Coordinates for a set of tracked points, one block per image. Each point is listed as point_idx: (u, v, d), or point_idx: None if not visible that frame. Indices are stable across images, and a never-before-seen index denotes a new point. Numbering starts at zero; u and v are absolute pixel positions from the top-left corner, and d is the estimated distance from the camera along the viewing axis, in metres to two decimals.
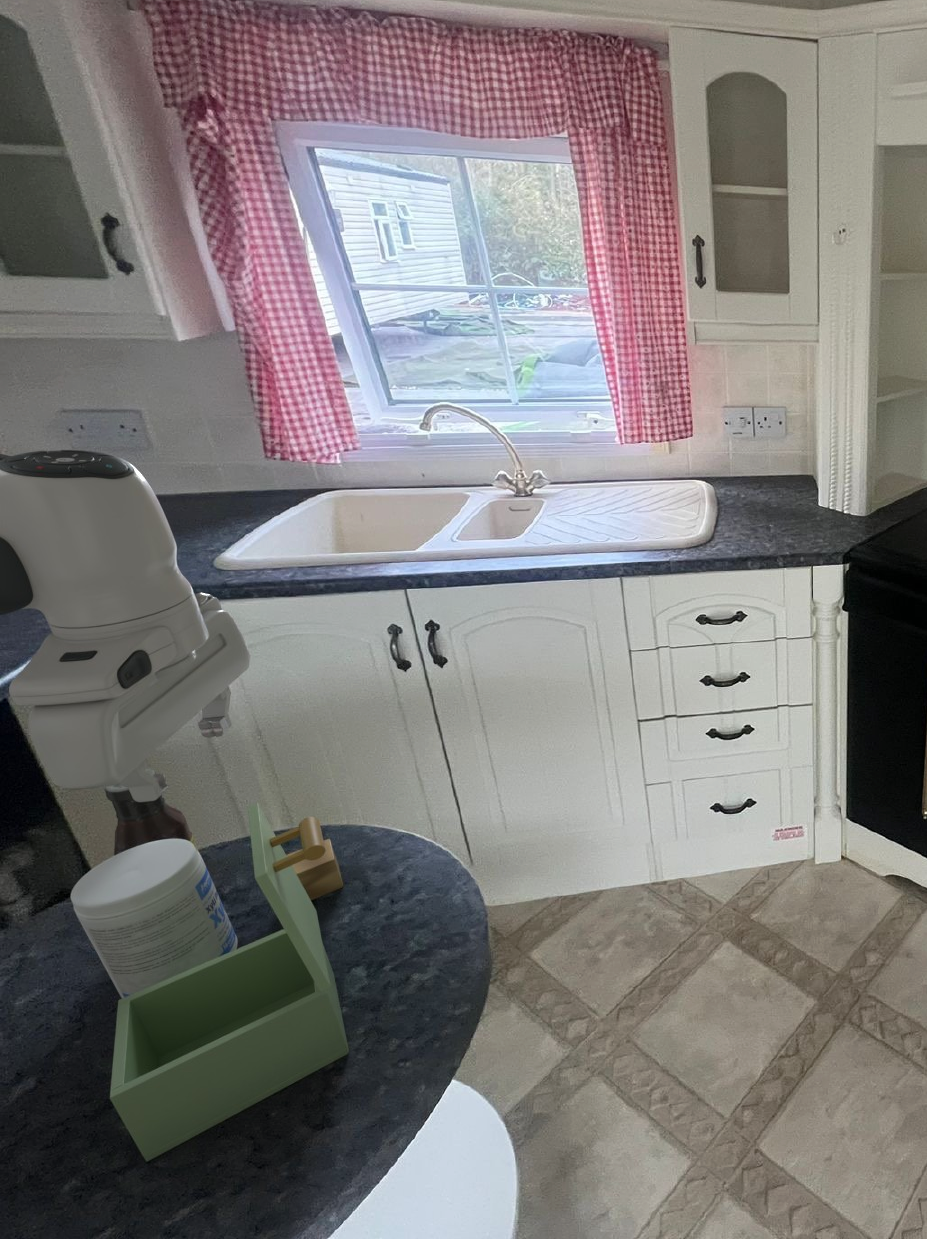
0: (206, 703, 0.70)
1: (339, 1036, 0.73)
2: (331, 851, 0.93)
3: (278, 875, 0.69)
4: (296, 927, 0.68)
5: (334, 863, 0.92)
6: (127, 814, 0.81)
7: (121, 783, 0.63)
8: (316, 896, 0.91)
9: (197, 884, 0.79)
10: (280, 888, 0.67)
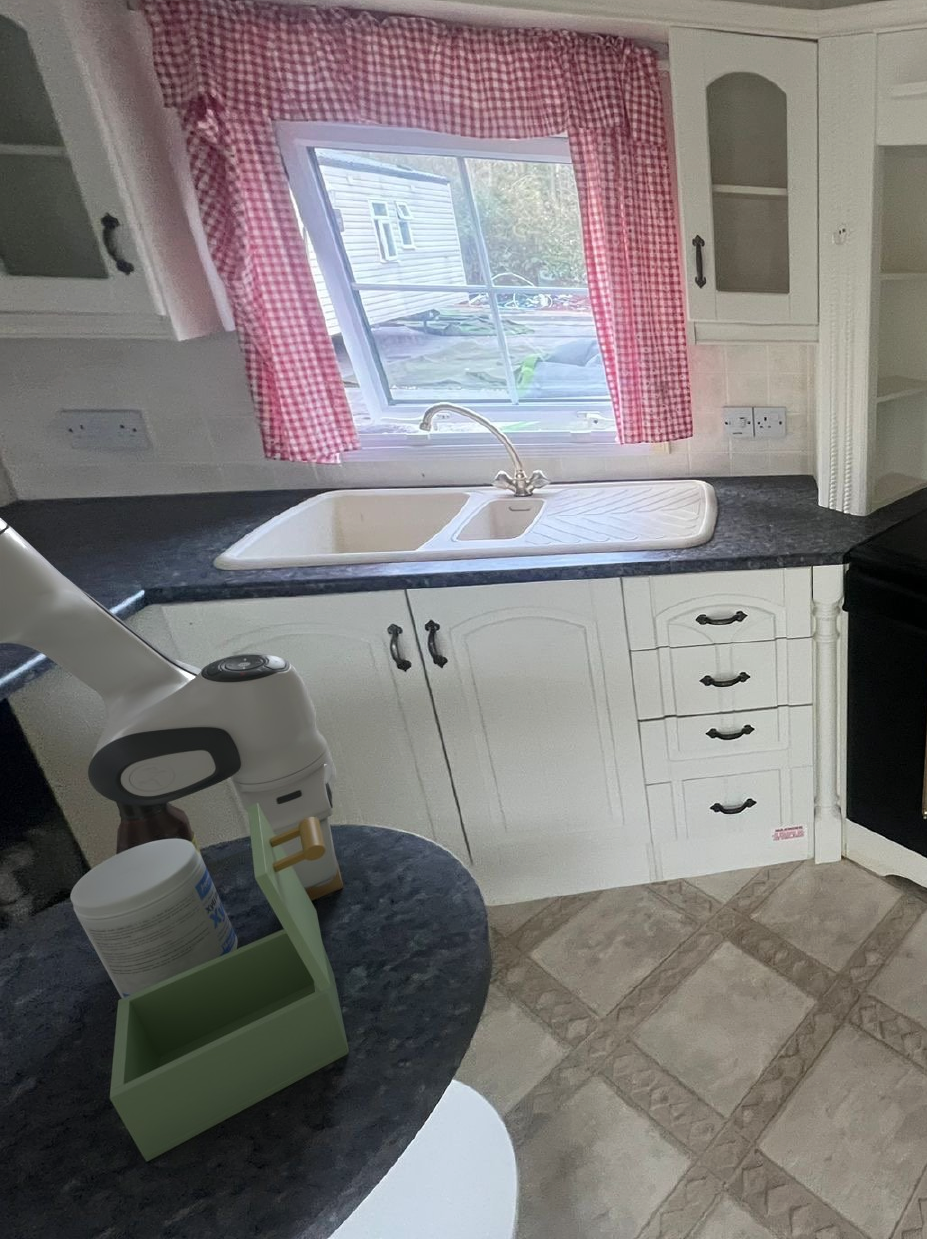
0: None
1: (339, 1036, 0.73)
2: None
3: (278, 875, 0.69)
4: (296, 927, 0.68)
5: None
6: (131, 813, 0.81)
7: None
8: (316, 897, 0.91)
9: (197, 884, 0.79)
10: (280, 888, 0.67)
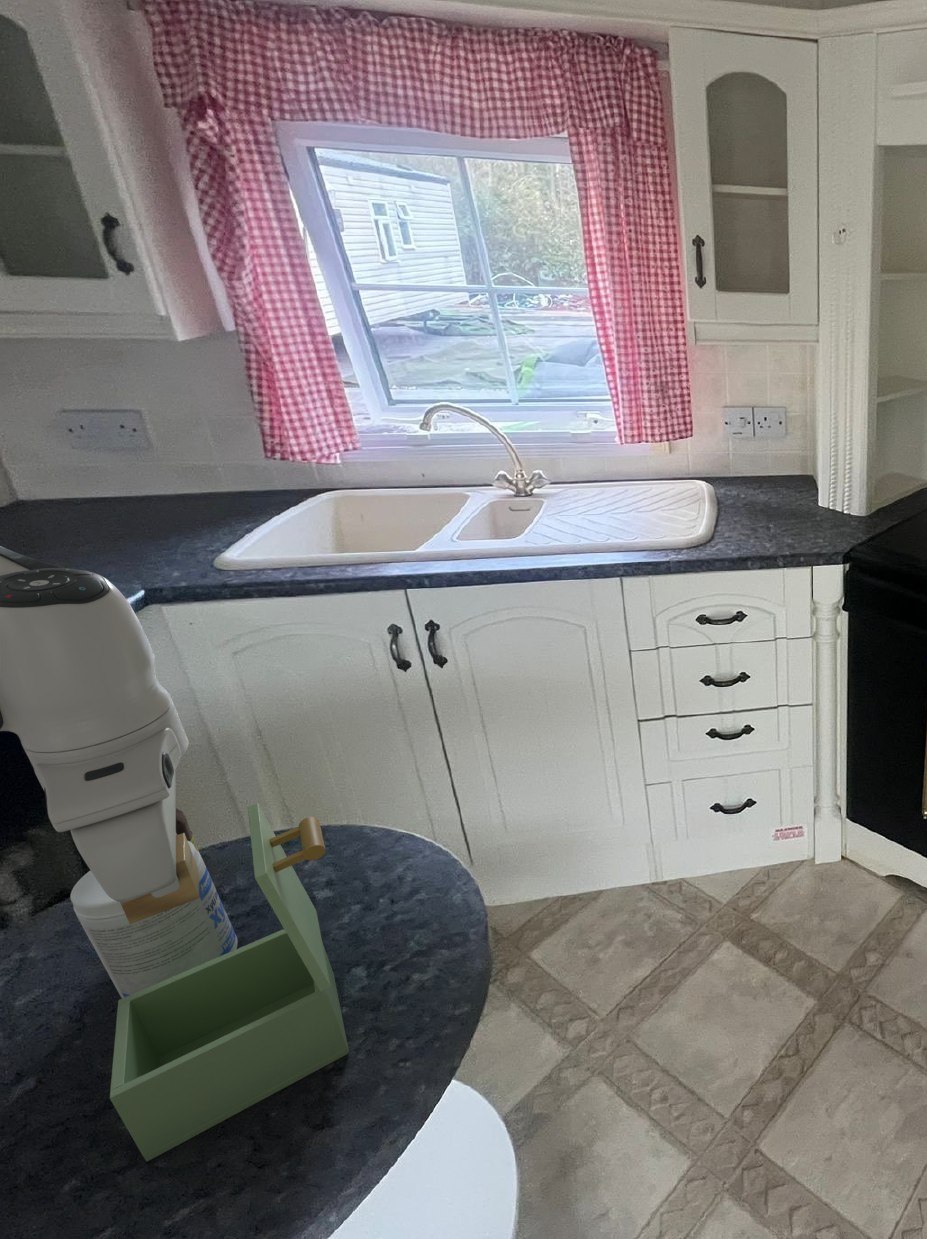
0: (175, 807, 0.69)
1: (339, 1036, 0.73)
2: (182, 850, 0.69)
3: (278, 875, 0.69)
4: (296, 927, 0.68)
5: (184, 866, 0.68)
6: None
7: None
8: (158, 911, 0.67)
9: None
10: (280, 888, 0.67)
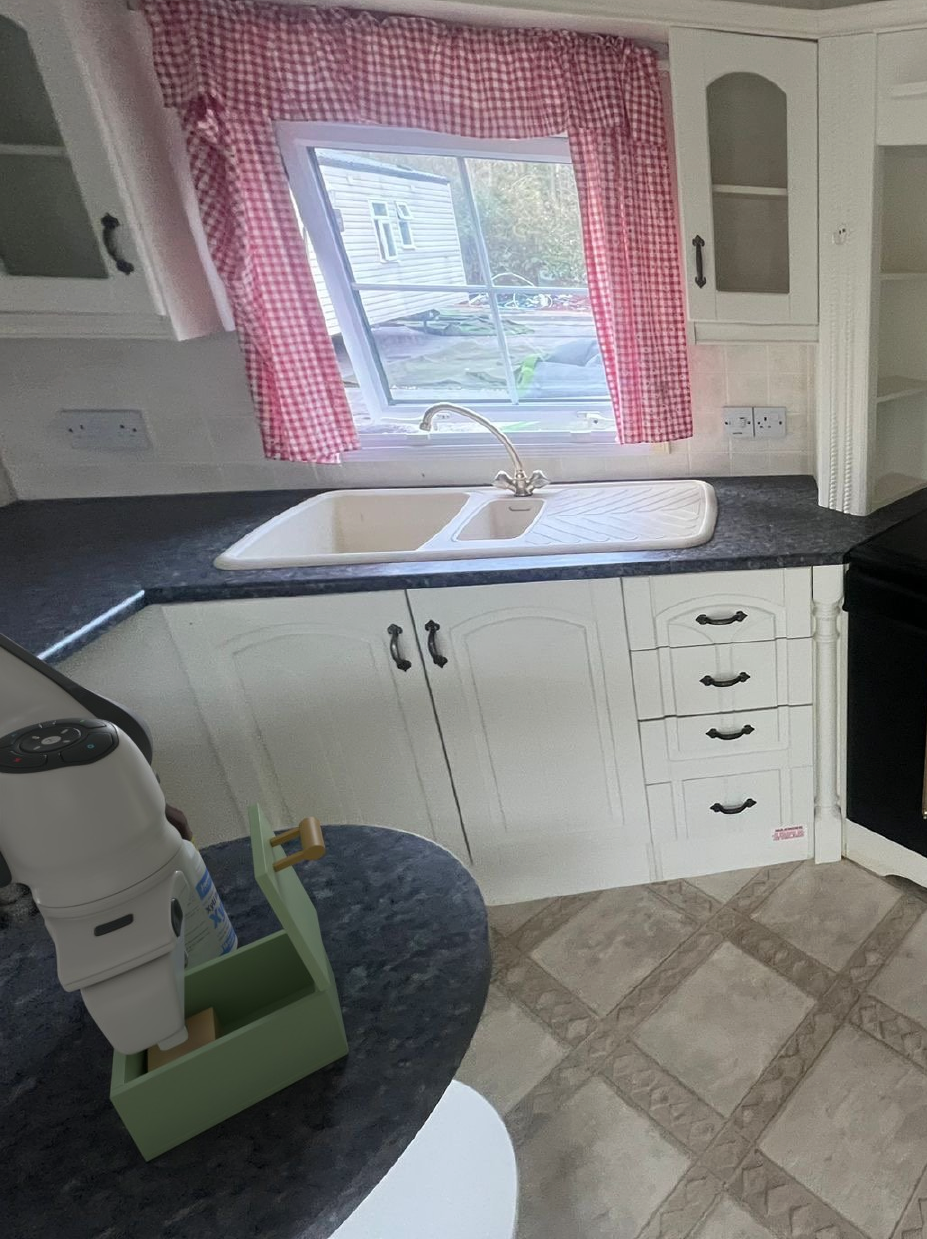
0: (184, 937, 0.69)
1: (339, 1036, 0.73)
2: (212, 1027, 0.71)
3: (278, 875, 0.69)
4: (296, 927, 0.68)
5: None
6: None
7: None
8: None
9: (197, 884, 0.79)
10: (280, 888, 0.67)
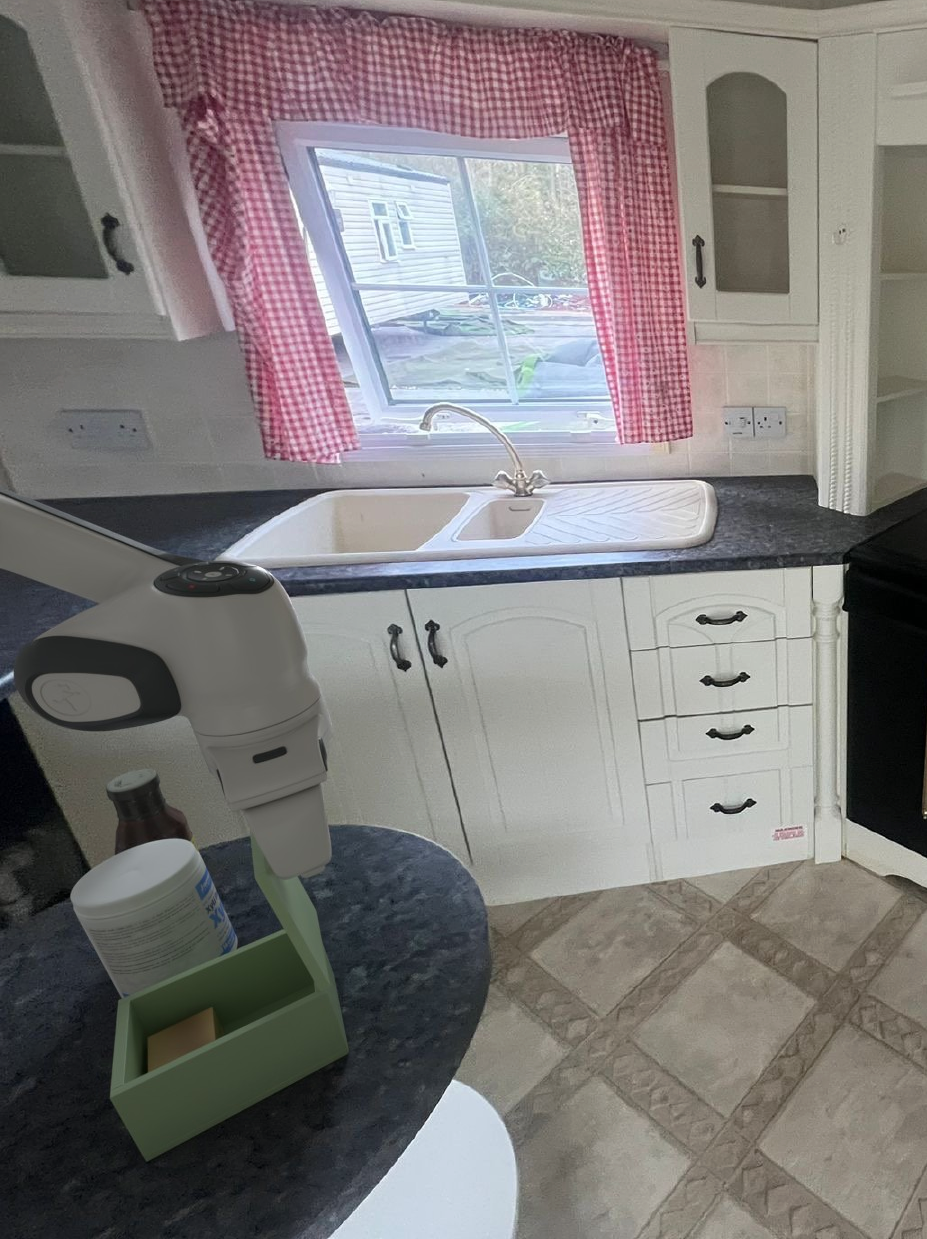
0: None
1: (339, 1036, 0.73)
2: (212, 1027, 0.71)
3: None
4: (296, 927, 0.68)
5: None
6: (128, 814, 0.81)
7: None
8: None
9: (197, 884, 0.79)
10: (280, 888, 0.67)
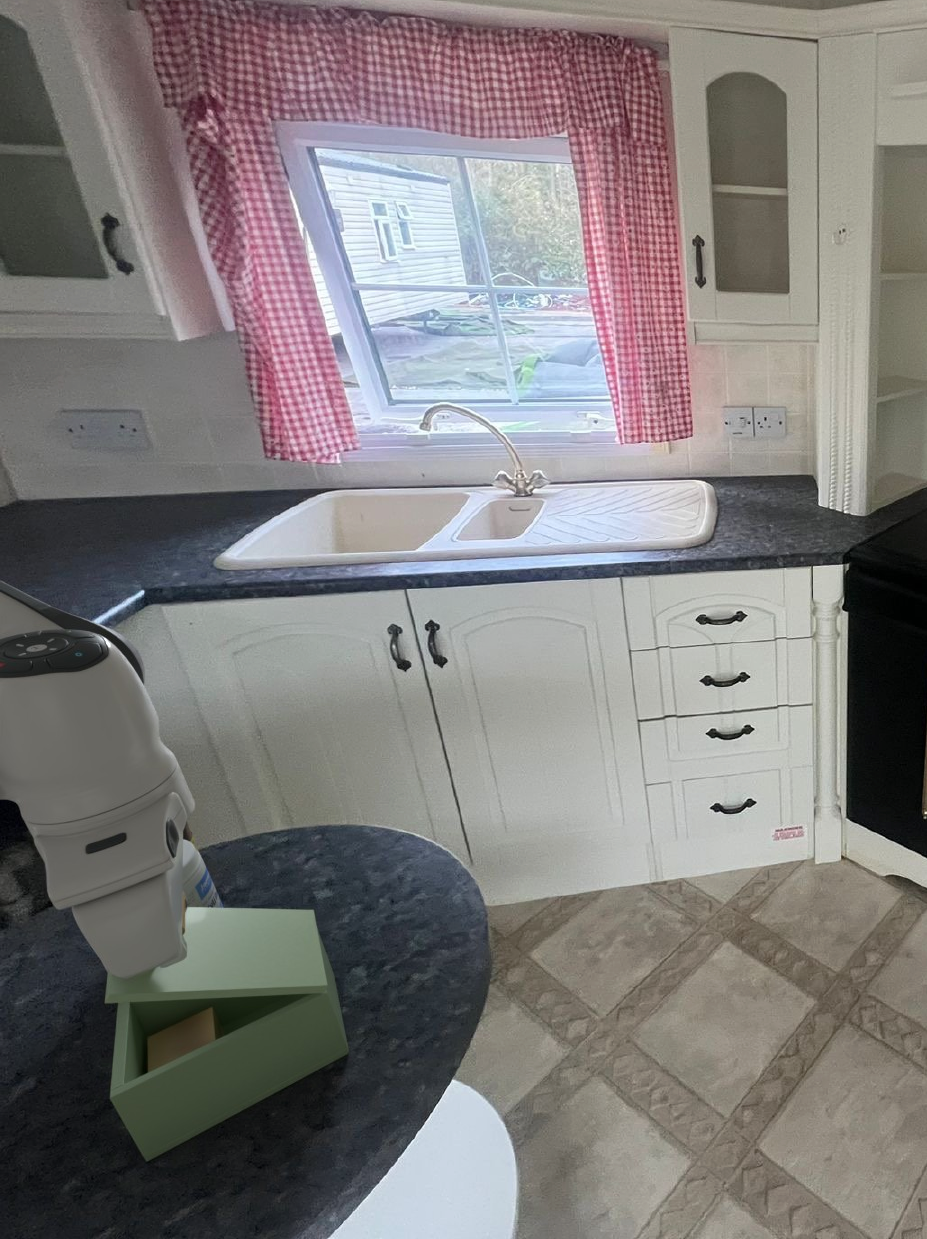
0: (182, 869, 0.67)
1: (339, 1036, 0.73)
2: (212, 1027, 0.71)
3: None
4: (218, 990, 0.65)
5: None
6: None
7: None
8: None
9: (197, 884, 0.79)
10: (167, 977, 0.64)
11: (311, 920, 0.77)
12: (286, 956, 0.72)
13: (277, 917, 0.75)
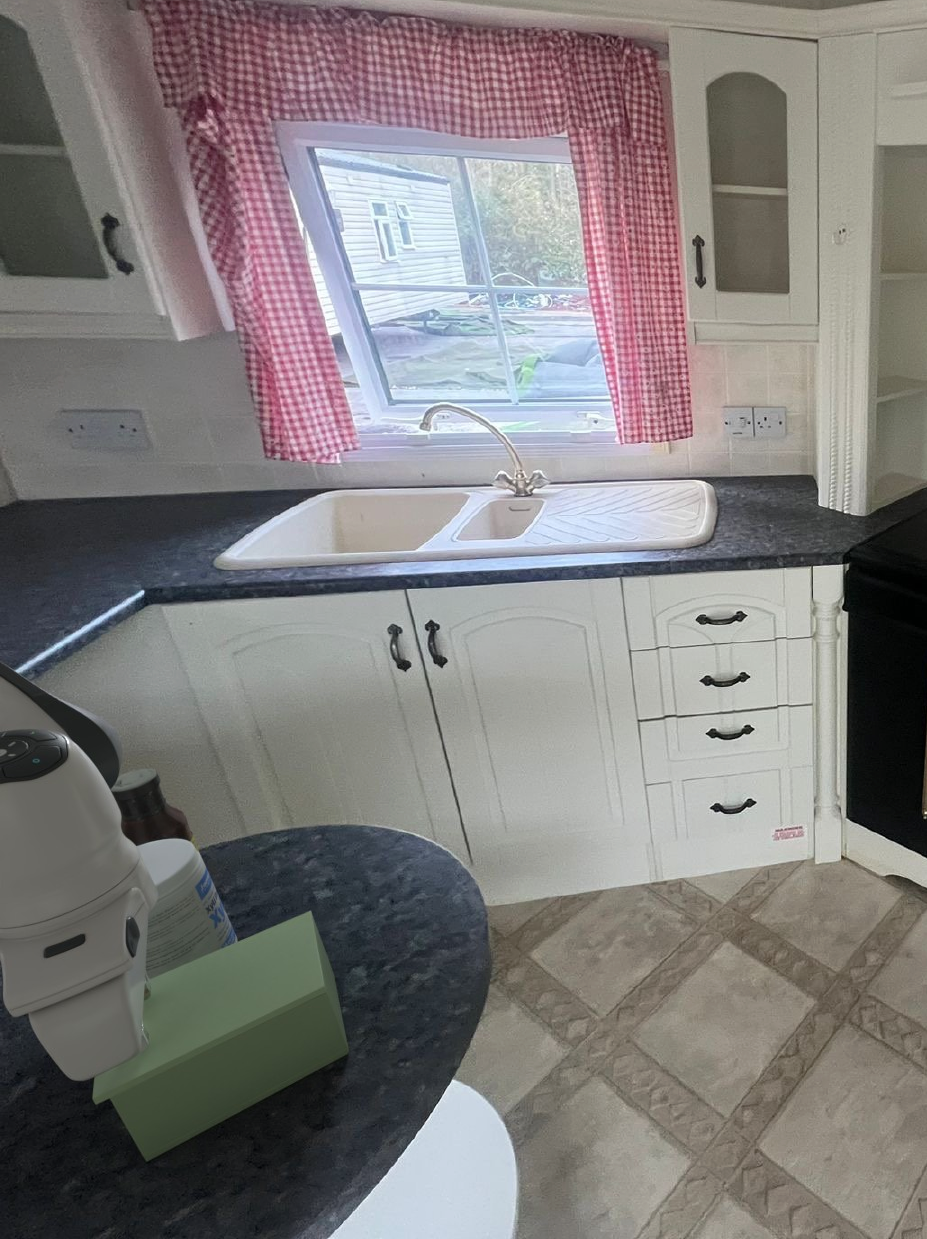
0: (145, 956, 0.67)
1: (339, 1036, 0.73)
2: None
3: (152, 1037, 0.66)
4: (206, 1043, 0.66)
5: None
6: (128, 813, 0.81)
7: None
8: None
9: (197, 884, 0.79)
10: (152, 1053, 0.65)
11: (307, 923, 0.77)
12: (280, 974, 0.72)
13: (271, 936, 0.76)
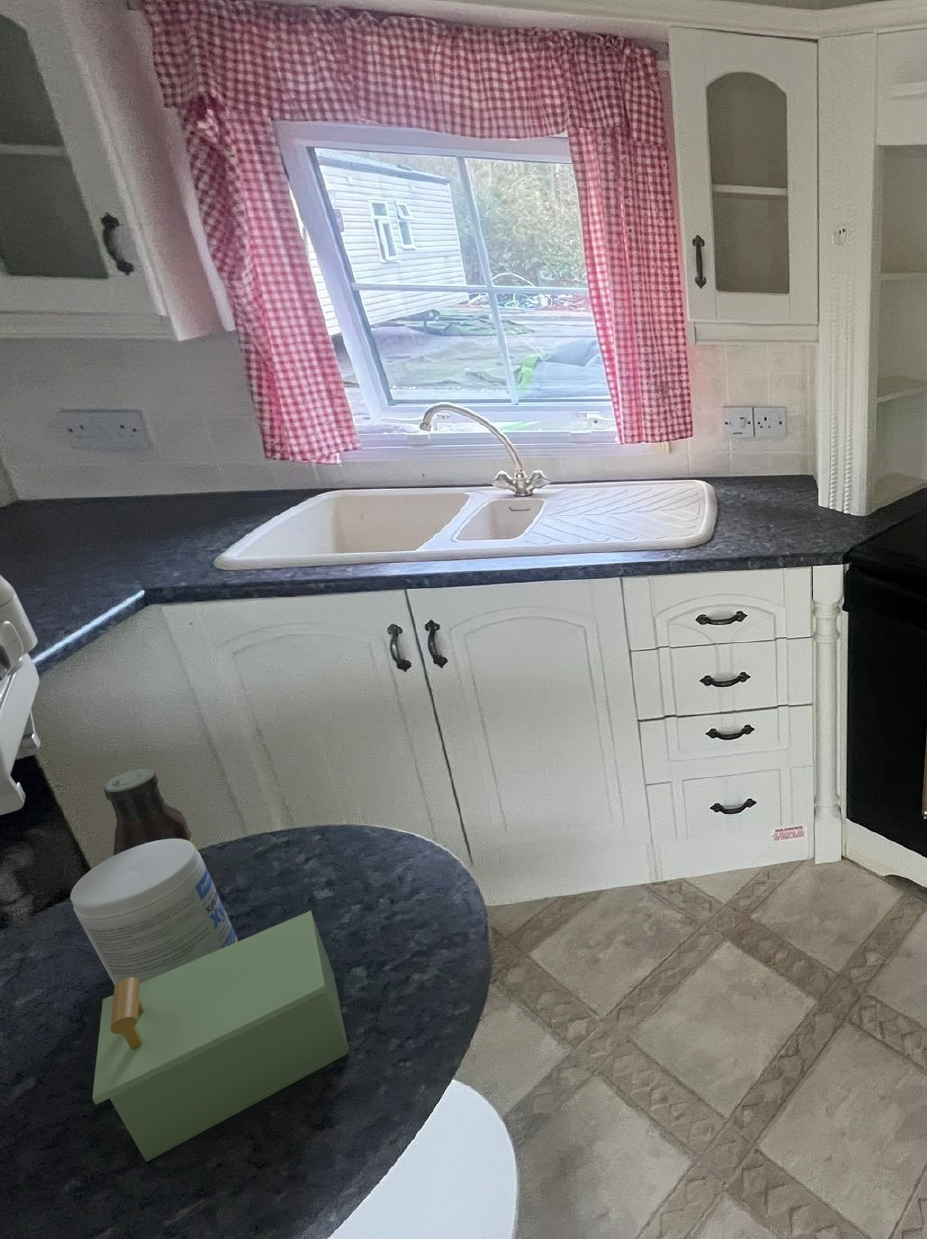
0: (28, 713, 0.66)
1: (339, 1036, 0.73)
2: None
3: (152, 1037, 0.66)
4: (206, 1043, 0.66)
5: None
6: (126, 813, 0.81)
7: None
8: None
9: (197, 884, 0.79)
10: (152, 1053, 0.65)
11: (307, 923, 0.77)
12: (280, 974, 0.72)
13: (271, 936, 0.76)
